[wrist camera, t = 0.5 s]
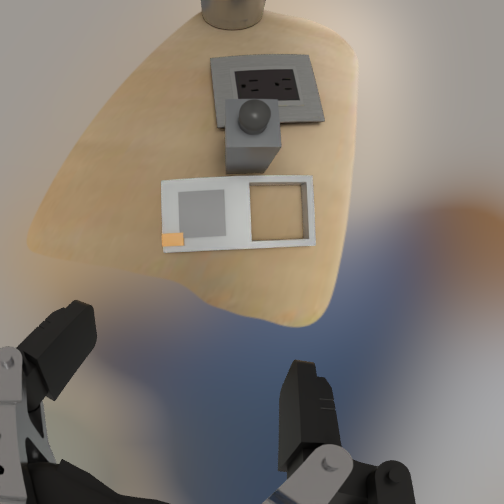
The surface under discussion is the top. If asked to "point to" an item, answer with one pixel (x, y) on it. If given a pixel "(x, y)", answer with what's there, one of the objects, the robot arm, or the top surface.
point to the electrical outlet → (268, 84)
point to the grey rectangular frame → (224, 213)
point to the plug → (251, 134)
